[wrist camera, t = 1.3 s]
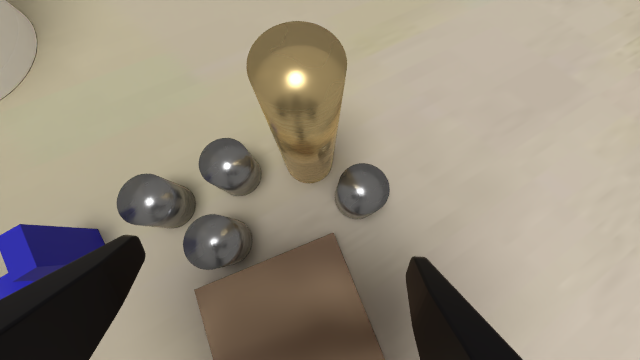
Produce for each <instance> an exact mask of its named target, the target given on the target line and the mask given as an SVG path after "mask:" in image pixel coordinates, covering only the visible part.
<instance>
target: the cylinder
mask: <svg viewBox="0 0 640 360" xmlns="http://www.w3.org/2000/svg"><path fill="white" fill-rule="evenodd" d="M36 49H37V38H36V33H35V30H34V27H33V25H32V24H31V22H30V21H29V19H28V18H27V17H26V16H25V15H24V14H23V13H21V12H20V11H19V10H17V9H16V8H15V7H14V6H12V5H11V4H10V3H8V2H7V1H6V0H0V100H1V99H2V98H4V97H5V96H6V95H8V94H9V93H10V92H11V91H12V90H13V89H15V88H16V87H17V86H18V84H19V83H20V82H21V81H22V80H23V79H24V77H25V76H26V74H27V73H28V71H29V70H30V68H31V66H32V63H33V61H34V58H35V54H36Z"/></svg>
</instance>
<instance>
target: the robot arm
mask: <svg viewBox="0 0 640 360" xmlns="http://www.w3.org/2000/svg"><path fill="white" fill-rule="evenodd" d="M144 260H145V251H144V249H143V246H142V244H141V241H140V239H139V238H138V237H137V236H133V235H123V236H120V237H118V238H117V239H115V240H113V241H111V242H109V243H107V244H105V245H103V246H101V247H99V248H98V249H96V250H94V251H92V252H90V253H88V254H86V255H84V256H82V257H80V258H78V259H77V260H75V261H73V262H71V263H69V264H67V265H65V266H63V267H61V268H59V269H58V270H56V271H54V272H52V273H50V274H48V275H46V276H44V277H42V278H40V279H38V280H37V281H35V282H33V283H31V284H29V285H27V286H25V287H23V288H21V289H19V290H18V291H16V292H14V293H12V294H10V295H8V296H6V297H4V298H2V299H0V360H89V359H90V357H91V356H92V354H93V352H94V351H95V349H96V348H97V346H98V344H99V343H100V341H101V339H102V338H103V336H104V334H105V333H106V331H107V330H108V328H109V326H110V325H111V323H112V321H113V320H114V318H115V316H116V315H117V313H118V312H119V310H120V308H121V306H122V305H123V303H124V301H125V299H126V297H127V295H128V293H129V291H130V289H131V287H132V285H133V283H134V281H135V279H136V277H137V275H138V272H139V270H140V268H141V266H142V264H143V262H144ZM406 284H407V291H408V299H409V306H410V314H411V321H412V327H413V332H414V336H415V340H416V344H417V348H418V352H419V356H420V360H523V359H522V358H521V357H520V356H519V355H518V354H517V353H516V352H515V351H514V350H513V349H512V348H511V347H510V346H509V345H508V344H507V342H506V341H505V340H504V339H503V338H502V337H501V336H500V335H499V334H498V333H497V332H496V331H495V330H494V329H493V328H492V327H491V326H490V325H489V324H488V322H487V321H486V320H485V319H484V318H483V317H482V316H481V315H480V314H479V313H478V312H477V311H476V310H475V309H474V308H473V307H472V306H471V305H470V304H469V302H468V301H467V300H466V299H465V298H464V297H463V296H462V295H461V294H460V293H459V292H458V291H457V290H456V289H455V288H454V287H453V286H452V285H451V284H450V282H449V281H448V280H447V279H446V278H445V277H444V276H443V275H442V274H441V273H440V272H439V271H438V270H437V269H436V268H435V267H434V266H433V265H432V264H431V262H430V261H429V260H428V259H427V258H425V257H416V256H414V257H412V258H411V260H410V263H409V266H408V269H407V272H406Z"/></svg>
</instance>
